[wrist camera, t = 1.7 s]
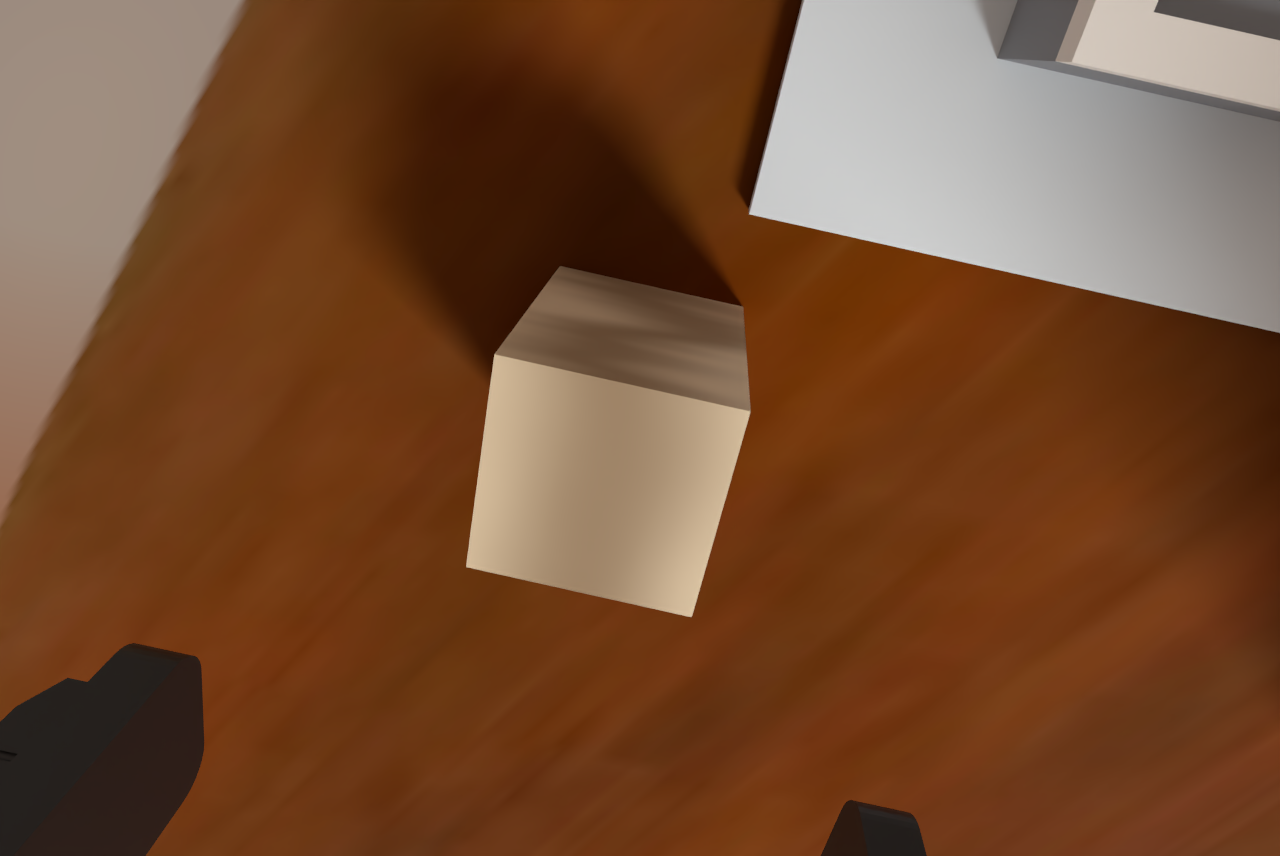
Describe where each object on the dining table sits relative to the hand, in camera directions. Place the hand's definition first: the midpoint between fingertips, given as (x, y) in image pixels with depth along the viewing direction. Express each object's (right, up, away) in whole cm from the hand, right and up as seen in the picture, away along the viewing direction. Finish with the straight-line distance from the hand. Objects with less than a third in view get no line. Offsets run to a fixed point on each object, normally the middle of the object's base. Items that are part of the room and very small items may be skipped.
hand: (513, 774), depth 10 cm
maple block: (+1, +6, +13) cm, 14 cm away
